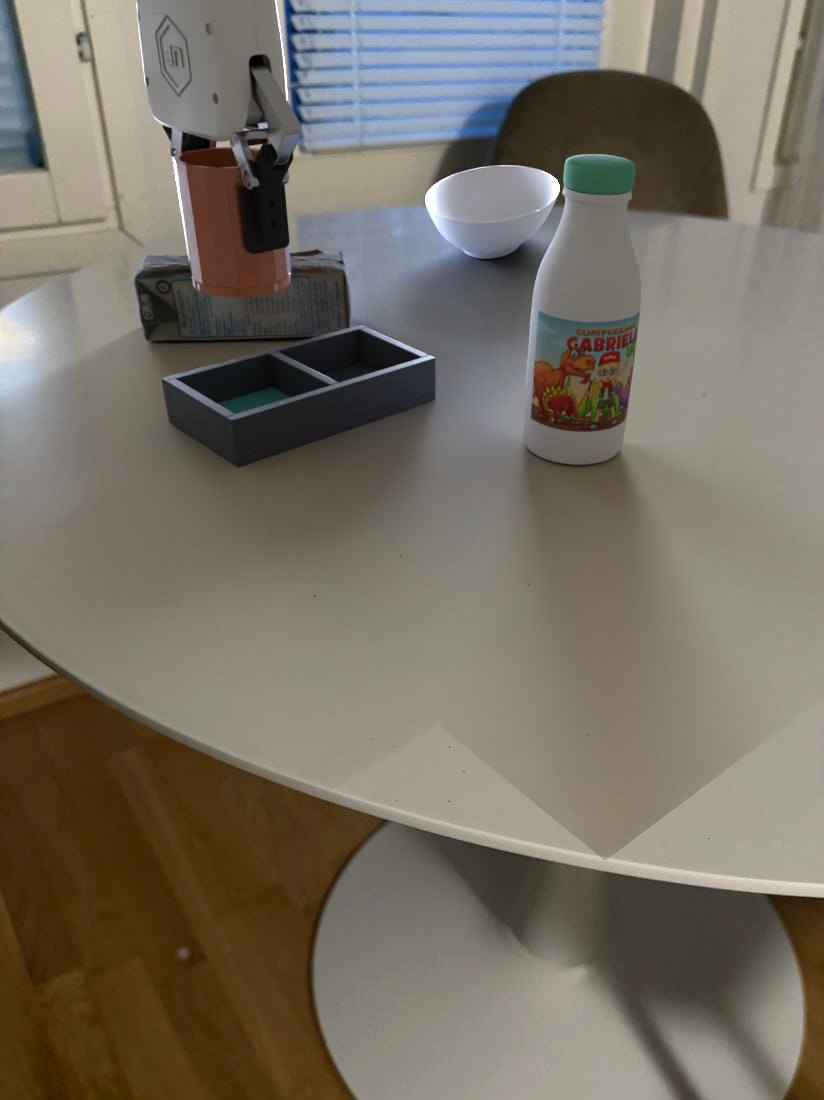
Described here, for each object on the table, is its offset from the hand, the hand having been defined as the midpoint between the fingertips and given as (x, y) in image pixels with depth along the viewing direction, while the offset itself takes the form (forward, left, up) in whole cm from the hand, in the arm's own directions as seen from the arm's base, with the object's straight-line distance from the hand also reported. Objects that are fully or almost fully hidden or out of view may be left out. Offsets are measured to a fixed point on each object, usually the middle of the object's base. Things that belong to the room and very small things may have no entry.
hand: (236, 235), depth 66 cm
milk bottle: (+18, +17, -14) cm, 28 cm away
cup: (0, 0, -3) cm, 3 cm away
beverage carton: (-19, +12, -14) cm, 27 cm away
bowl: (-26, +51, -14) cm, 59 cm away
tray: (0, +5, -14) cm, 15 cm away
